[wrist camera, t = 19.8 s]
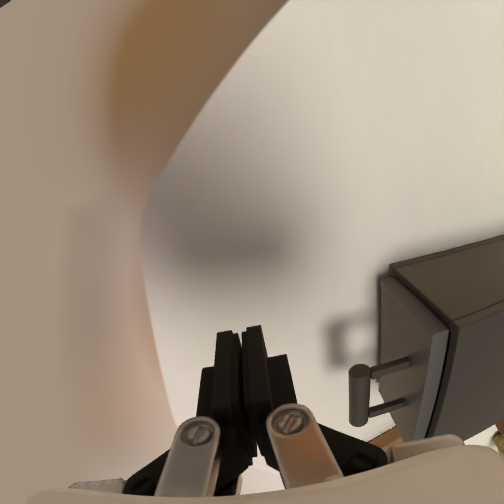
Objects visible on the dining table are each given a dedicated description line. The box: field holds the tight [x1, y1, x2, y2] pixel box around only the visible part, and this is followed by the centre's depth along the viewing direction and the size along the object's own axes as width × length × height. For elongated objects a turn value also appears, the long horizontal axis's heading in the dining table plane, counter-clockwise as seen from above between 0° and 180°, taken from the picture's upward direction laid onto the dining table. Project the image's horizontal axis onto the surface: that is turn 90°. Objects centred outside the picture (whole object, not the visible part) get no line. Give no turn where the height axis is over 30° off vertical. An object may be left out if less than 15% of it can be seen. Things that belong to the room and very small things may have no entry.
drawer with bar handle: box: [349, 277, 449, 442], centre depth 19 cm, size 19×11×8 cm, turn 101°
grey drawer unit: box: [390, 235, 504, 441], centre depth 19 cm, size 16×13×10 cm
